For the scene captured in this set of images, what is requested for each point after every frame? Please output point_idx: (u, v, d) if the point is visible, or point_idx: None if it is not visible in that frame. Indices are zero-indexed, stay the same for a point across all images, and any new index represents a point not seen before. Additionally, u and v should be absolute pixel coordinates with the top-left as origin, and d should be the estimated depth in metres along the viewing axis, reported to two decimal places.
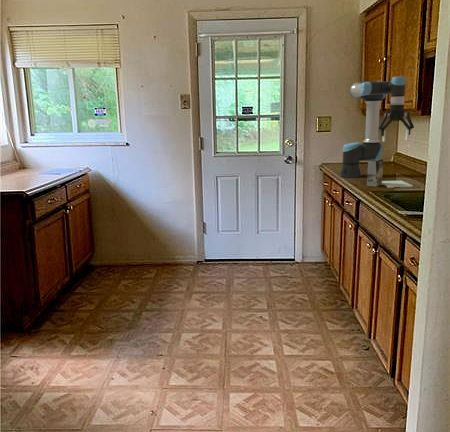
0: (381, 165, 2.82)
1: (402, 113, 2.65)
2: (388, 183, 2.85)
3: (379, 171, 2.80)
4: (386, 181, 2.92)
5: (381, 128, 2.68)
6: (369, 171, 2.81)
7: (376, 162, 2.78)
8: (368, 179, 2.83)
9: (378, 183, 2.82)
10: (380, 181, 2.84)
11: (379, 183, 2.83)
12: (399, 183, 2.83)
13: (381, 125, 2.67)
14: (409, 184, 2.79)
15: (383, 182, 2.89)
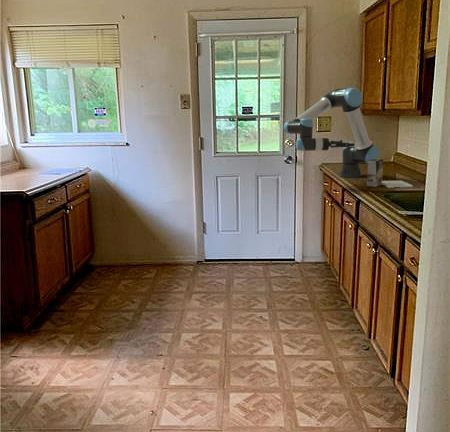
0: (381, 165, 2.82)
1: (331, 146, 2.77)
2: (388, 183, 2.85)
3: (379, 171, 2.80)
4: (386, 181, 2.92)
5: None
6: (369, 171, 2.81)
7: (376, 162, 2.78)
8: (368, 179, 2.83)
9: (378, 183, 2.82)
10: (380, 181, 2.84)
11: (379, 183, 2.83)
12: (399, 183, 2.83)
13: None
14: (409, 184, 2.79)
15: (383, 182, 2.89)
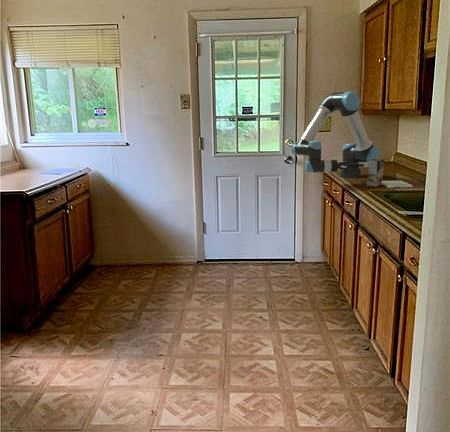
0: (382, 165, 2.82)
1: (340, 168, 2.80)
2: (388, 183, 2.85)
3: (379, 172, 2.80)
4: (386, 181, 2.92)
5: None
6: (370, 171, 2.81)
7: (377, 162, 2.77)
8: (368, 179, 2.82)
9: (378, 183, 2.82)
10: (380, 181, 2.84)
11: (379, 183, 2.83)
12: (399, 183, 2.83)
13: None
14: (409, 184, 2.79)
15: (383, 182, 2.89)
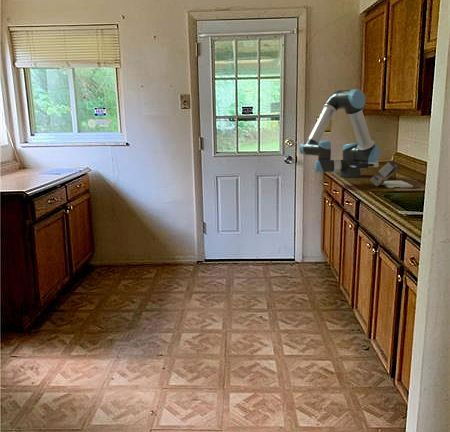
0: (394, 171, 2.78)
1: (349, 167, 2.80)
2: (388, 183, 2.85)
3: (388, 176, 2.77)
4: (386, 181, 2.92)
5: None
6: (381, 170, 2.76)
7: (393, 169, 2.72)
8: (375, 176, 2.79)
9: (379, 184, 2.82)
10: (382, 182, 2.83)
11: (380, 184, 2.82)
12: (399, 183, 2.83)
13: None
14: (409, 184, 2.79)
15: None
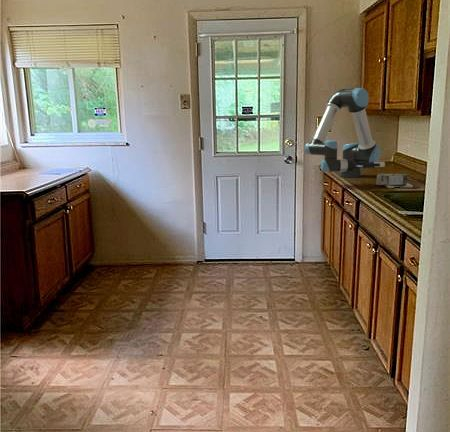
0: None
1: (356, 167, 2.80)
2: None
3: None
4: None
5: None
6: (391, 177, 2.74)
7: (401, 185, 2.72)
8: (383, 176, 2.77)
9: None
10: None
11: None
12: None
13: None
14: (409, 184, 2.79)
15: None
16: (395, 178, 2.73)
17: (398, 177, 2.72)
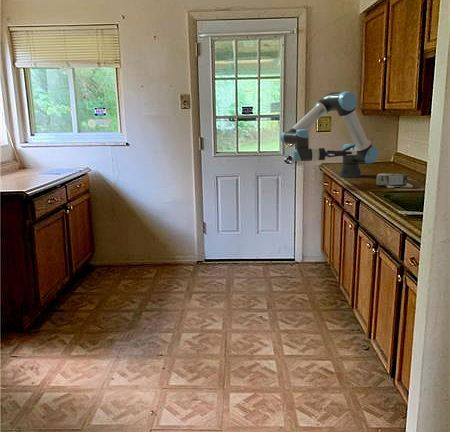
0: None
1: (327, 156, 2.78)
2: None
3: None
4: None
5: None
6: (391, 177, 2.74)
7: (401, 185, 2.72)
8: (383, 176, 2.77)
9: None
10: None
11: None
12: None
13: None
14: (409, 184, 2.79)
15: None
16: (395, 178, 2.73)
17: (398, 177, 2.72)
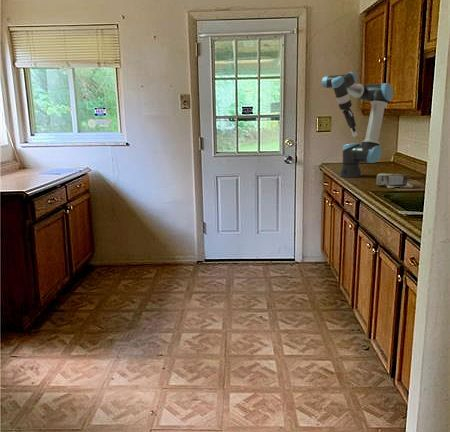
0: None
1: (347, 111, 2.80)
2: None
3: None
4: None
5: None
6: (391, 177, 2.74)
7: (401, 185, 2.72)
8: (383, 176, 2.77)
9: None
10: None
11: None
12: None
13: (347, 122, 2.90)
14: (409, 184, 2.79)
15: None
16: (395, 178, 2.73)
17: (398, 177, 2.72)
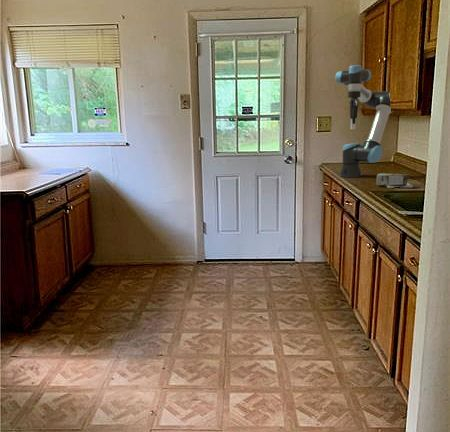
0: None
1: (353, 99, 2.84)
2: None
3: None
4: None
5: None
6: (391, 177, 2.74)
7: (401, 185, 2.72)
8: (383, 176, 2.77)
9: None
10: None
11: None
12: None
13: (350, 114, 2.93)
14: (409, 184, 2.79)
15: None
16: (395, 178, 2.73)
17: (398, 177, 2.72)
